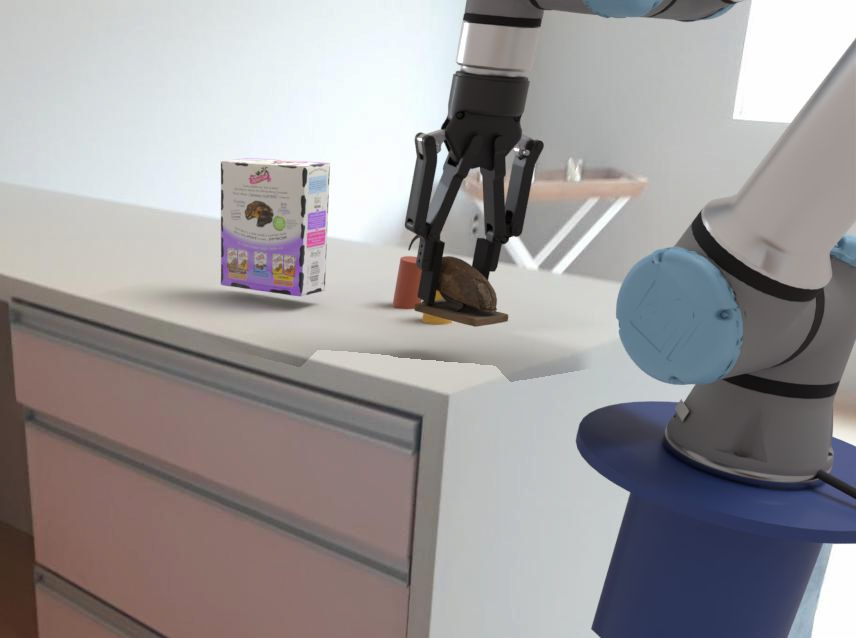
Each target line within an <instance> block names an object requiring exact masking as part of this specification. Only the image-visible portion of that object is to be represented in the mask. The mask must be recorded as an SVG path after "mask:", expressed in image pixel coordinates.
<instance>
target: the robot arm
mask: <svg viewBox="0 0 856 638" xmlns="http://www.w3.org/2000/svg"><path fill="white" fill-rule="evenodd" d="M744 1H746V0H466V1H465V6H464V12H463V16H462V22H461V28H460V32H459V33H460V34H459V39H458V44H457V51H456V56H455V63H456V64H457V65H458V66H460V69H459V70H455V73H453V74H452V79H451V84H450V91H449V97H448V102H447V115H446V118H445V120H444V122H442V124H441V126H440V129H437V130H434V131H431V132H428V133H424V132H423V131H421V132H420V131H419V132H418V133H416V134H415V135H414V146H415V155H416V159H415V164H414V170H413V175H412V181H411V182H412V183H411V186H410V192H409V198H408V203H407V204H408V205H407V209H406V215H405V219H404V228H405V230H407V231H409V232H412V233H413V234H415V235H419V237H420V238H419V242H418V249H417V255H416V257H417V260H416V265H417V268H419V269H420V270H422V272H421V278H420V284H419V290H418V296H417V297H418V298H420V299H422V301H425V302H426V303H428V304H434V302H435V296H436V291H437V285H438V280H439V274H440V268H441V263H442V257H444V251H445V245H446V242H445V241H442V240H441V239H440V240H439V239H438V238H439V236H440V237H441V234H442V231H443V229H444V226H445V224H446V222H447V219H448V217H449V215H450V212H451V210H452V207H453V205H454V203H455V201H456V198H457V196H458V193H459V191H460V188H461V186H462V183H463V181H464V180H465V179H466V178H468V176H469V174H470V171H471V170H473V169H478V168H479V173H480V175H481V181H482V198H483V199H482V202H483V222H484V223H483V224H484V236H485V238H484V237H476V242H475V248H474V252H473V257H472V263H471V266H473V267H474V268H475V269H476V270H478V271H479V272H480V273H481V274H482V275H483V276H484V277H485V278H486V279H487V280H488V281H489V279H490V274H491V272H493V273H495V272H496V270H497V268H498V267H499V261H500V256H501V251H502V246H503V245H506V244H508V242H509V241H510V239H511V238H513V237H514V238H517V237H520V236H521V235H522V233H523V230H524V224H525V219H526V214H527V209H528V203H529V198H530V193H531V187H532V183H533V177H534V172H535V168H536V167H535V166H536V163H537V161H538V160H539V158H540V156H541V155H542V154H541V153H542V151H543V149H544V147H545V143H544V142H543V140H540V139H536V138H533V137H530V136H527V135H525V134H523V128H522V125H521V119H522V116H523V114H524V112H525V108H526V104H527V103H526V102H527V98H528V93H529V88H530V84H531V81H530V80H529V77H528V76H526V73H527V72H530V71H532V70H533V69H534V64H535V60H536V53H537V47H538V42H539V37H540V32H541V27H542V22H543V18H544V13H545V11H557V12H567V13H573V14H580V15H581V14H583V15H591V16H592V15H593V16H598V17H602V18H603V19H604V18H605V19H611V18H613V19H626V18H646V19H658V20H659V19H660V20H671V21H677V22H682V23H693V22H699V21H708V20H713V19H716V18H719V17H721V16H723V15H725V14H727V13H728V12H729V11H730V10H732V8H733V7H734V6H735V5H737V4H738V3H741V2H744ZM443 143H444V146H445V148H446V150H447V152H448V154H447V156H446V158H445V160H444V163H443V166H442V174H441V176H440V179H439V181H438V183H437V185H436V189H435V192H434V193H433V188H434V182H435V177H436V170H437V167H438V155H439V153H440V152H441V151H442V144H443ZM512 150H513V152H514V157H513V161H512V164H511V170H510V175H509V181H508V187H507V193H506V198H505V177H506V175H507V166H506V157H507V156H508V155H509V154H510V153H511V152H512ZM432 193H433V196H432ZM855 223H856V37H855V38H854V39H853V40H852V42H851V43H850V45H849V46H848V47H847V49H846V50H845V51H844V52H843V54H842V55H841V57H840V58H839V59H838V61H836V63H835V64H834V66H833V67H832V68H831V70H830V71H829V72H828V74H827V75H826V76H825V78H824V79H823V80H822V81H821V83H820V84H819V85H818V86H817V88H816V89H815V90H814V92H813V93H812V94H811V95H810V97H809V99H808V100H807V101H806V102H805V104H804V105H803V106H802V108H801V109H800V110H799V111H798V113H797V114H796V115H795V117H794V118H793V119H792V121H791V122H790V123H789V125H788V126H787V127H786V129H785V130H784V131H783V133H782V134H781V135H780V136H779V138H778V139H777V140H776V142H775V143H774V144H773V146H772V147H771V148H770V149H769V151H768V152H767V153H766V155H765V156H764V157H763V159H762V160H761V161H760V163H759V164H758V165H757V167H756V168H755V169H754V171H752V173H751V174H750V176H749V177H748V178H747V179H746V181H745V182H744V183H743V185H742V186H741V187H740V189H739V190H738V191H737V193H735V194H733V195H732V196H726V197H719V198H714V199H711V200H709V201H708V202H707V203H706V204H705V205H704V206H703V207H702V208H701V210H700V211H699V212H698V214H697V215H696V216H695V217H694V219H693V220H692V222H691V223H690V224H689V225H688V227H687V228H686V230H685V231H684V233H683V234H682V235H681V236H680V238H679V239H678V241H677V242H676V243H675V244H674V245H673V246H669V247H665V248H660V249H657V250H654V251H653V252H651V253H650V254H648V255H646V256H644V257H642V258H641V259H640V260H638V261H637V262H636V263H635V264H634V265H633V266H632V267H631V268H630V269H629V271H628V272H627V273H626V275H625V277H624V278H623V281H622V283H621V285H620V287H619V290H618V293H617V298H616V305H615V318H616V320H617V321H618V337H619V339H620V342H621V344H622V346H623V348H624V350H625V352H626V354H627V356H629V358H630V359H631V361H632V362H633V363H634V364H635V365H636V366H637V368H639V369H640V371H642V372H643V373H644V374H646V375H647V376H649V377H651V378H653V379H655V380H656V381H659V382H661V383H665V384H668V385H673V386H674V385H676V386H685V385H693V387H692V389H691V390H690V392H689V393H688V395H687V396H686V398H685V399H684V401H683V400H682V398H681V399H680V400H679V401H678V402H679V403H678V404H677V406H676V407H675V410H676V412H677V413H675V414H674V415H673V417H672V418H671V419H670V421H669V423H668V425H667V426H666V430H665V433H664V437H663V440H662V444H663V446H664V448H665V450H666V451H667V452H668V453H669V454H670V455H671V456H673V457H674V458H675V459H677V460H678V461H680V462H682V463H683V464H685V465H687V466H689V467H691V468H693V469H695V470H698V471H700V472H702V473H705V474H708V475H710V476H713V477H716V478H719V479H723V480H726V481H730V482H733V483H737V484H742V485H746V486H751V487H757V488H764V489H772V490H784V491H798V490H808V489H813V488H817V487H820V486H822V485H823V484H825V483H827V484H829V485H830V486H832V487H834V488H836V489H838V490H840V491H841V492H843V493H845V494H847V495H849V496H851V497H852V498H854V499H856V488H854V487H853V486H851V485H849V484H847V483H845V482H843V481H841V480H840V479H838V478H836V477H834V476H832V475H830V472H831V469H832V466H833V459H834V452H833V449H832V447H831V444H832V437H834V436H833V433H834V401H835V397H836V395H837V391H838V390H839V386H840V383H841V381H842V378H843V376H844V373H845V370H846V367H847V364H848V362H849V359H850V356H851V355H852V354H851V353H852V351H853V349H854V345H855V343H856V235H854V234H850V233H848V232H849V230H850V229H851V228H852V226H853V225H854V224H855Z"/></svg>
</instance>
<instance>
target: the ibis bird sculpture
mask: <svg viewBox="0 0 856 638" xmlns="http://www.w3.org/2000/svg"><path fill="white" fill-rule="evenodd" d="M418 239H420V237H419V235H417V234H415V235H414V237H413V238H412V239H411V241H410V242H409V245H408V249H407V250H408V251H411V249H412V246H413V244H414V242H415V241H416V240H418ZM438 239H439V240H441V235H440V236H439V238H438ZM437 291H439V292H440V294H441V296H442V297H443V298H444V299H441V300H435V302H434V304H428V303H426V302H425V301H423V300H422V301H421V303H416V304H415V309H414V311H415V312H418V313H421V314H423V313H425V314H429V315H432V316H436V317H440V318H443V319H447V320H451V321H452V322H455V323H458V324H463V325H466V326H470V327H474V328H477V327H483V326H490V325H491V326H492V325H496V324H501V323H508V322H509V314H508V313H506V312H501V311H497V310H498V309H497V304H498V298H497V293H496V291H495V289H494V287H493V286H492V284H491V282H490V281H489V279H488V280H487V279H486V278H485V277H484V276H483V275H482V274H481V273H480V272H479V271H478V270H476V269H475V268H474V267H473V266H472V264H470V263H468V262H467V261H466V260H463V259H462V258H458V257H456V256H451V255H446V256H445V255H444V256H443V257H442V263H441V268H440V274H439V280H438V285H437Z"/></svg>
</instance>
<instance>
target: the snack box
mask: <svg viewBox="0 0 856 638" xmlns="http://www.w3.org/2000/svg"><path fill="white" fill-rule="evenodd" d="M330 169H331V163H330V162H323V161H307V160H293V159H292V160H291V159H276V158H253V157H243V158H235V159H228V160H227V159H226V160H221V161H220V285H221V286H224V287H231V288H239V289H245V290H253V291H259V292H267V293H273V294H280V295H286V296H292V297H305V296H310V295H313V294H317V293H322V292H324V291H325V290H326V274H327V273H326V271H327V270H326V269H327V250H328V249H327V247H328V246H327V244H328V243H327V242H328V224H329V222H328V221H329V198H330V197H329V196H330V173H331V170H330Z"/></svg>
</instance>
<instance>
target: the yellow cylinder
mask: <svg viewBox="0 0 856 638" xmlns="http://www.w3.org/2000/svg"><path fill="white" fill-rule="evenodd" d="M441 299H444V298H443V297H442V296H441V294H440V292H439V291H436V296H435V300H441ZM421 322H423V323H425V324H427V325H429V324H430V325H448V324H452V323H453V321H451V320H447V319H443V318H440V317H436V316H432V315H429V314H425V313H422V318H421Z"/></svg>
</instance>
